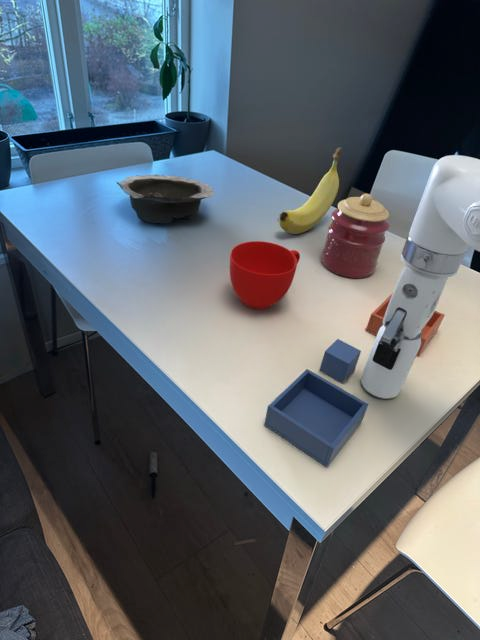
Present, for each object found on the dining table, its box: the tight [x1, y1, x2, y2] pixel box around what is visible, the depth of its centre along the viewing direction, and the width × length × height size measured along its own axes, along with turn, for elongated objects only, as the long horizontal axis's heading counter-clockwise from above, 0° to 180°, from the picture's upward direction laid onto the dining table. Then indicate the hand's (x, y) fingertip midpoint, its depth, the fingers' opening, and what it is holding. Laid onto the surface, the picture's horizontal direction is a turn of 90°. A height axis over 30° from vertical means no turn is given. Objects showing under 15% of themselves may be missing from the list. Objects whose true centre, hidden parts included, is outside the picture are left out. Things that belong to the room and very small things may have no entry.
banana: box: [278, 146, 343, 235], centre depth 115 cm, size 23×6×20 cm, turn 138°
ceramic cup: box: [229, 240, 301, 310], centre depth 89 cm, size 13×17×10 cm
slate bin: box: [263, 368, 370, 468], centre depth 65 cm, size 11×11×4 cm
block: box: [319, 338, 362, 384], centre depth 75 cm, size 4×4×4 cm
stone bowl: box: [116, 174, 215, 224], centre depth 118 cm, size 25×25×9 cm
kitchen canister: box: [321, 193, 391, 279], centre depth 102 cm, size 13×13×18 cm
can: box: [360, 325, 422, 400], centre depth 71 cm, size 6×6×12 cm
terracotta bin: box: [365, 292, 446, 357], centre depth 87 cm, size 11×11×4 cm
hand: (391, 352), depth 71 cm, fingers closed on can, 6 cm apart
